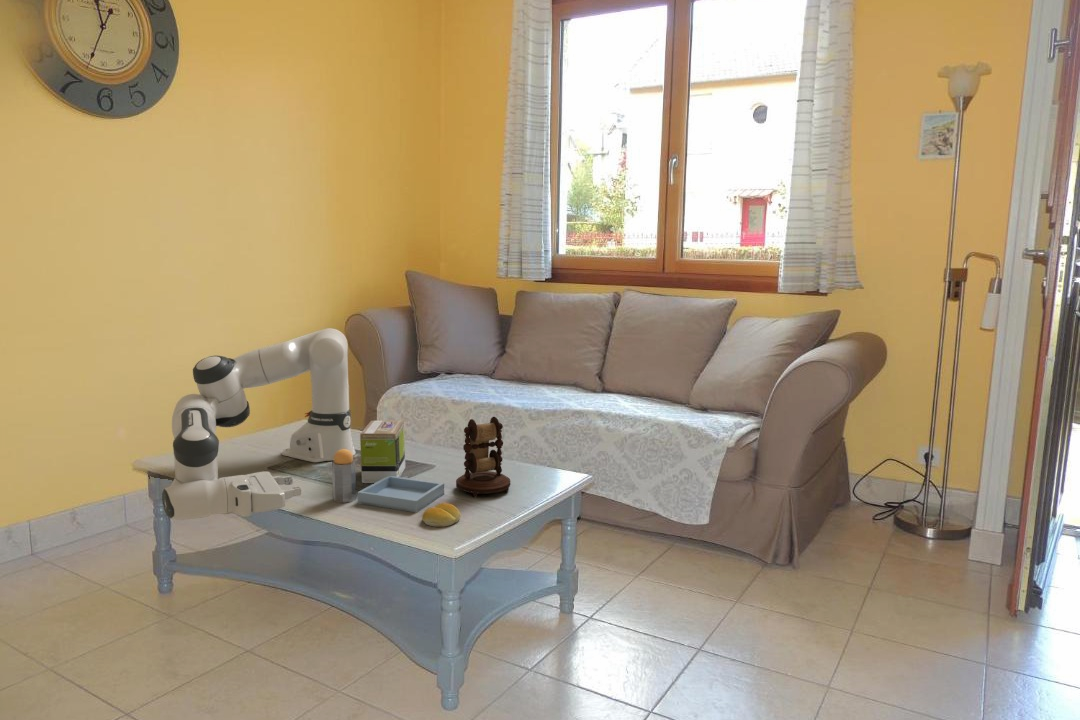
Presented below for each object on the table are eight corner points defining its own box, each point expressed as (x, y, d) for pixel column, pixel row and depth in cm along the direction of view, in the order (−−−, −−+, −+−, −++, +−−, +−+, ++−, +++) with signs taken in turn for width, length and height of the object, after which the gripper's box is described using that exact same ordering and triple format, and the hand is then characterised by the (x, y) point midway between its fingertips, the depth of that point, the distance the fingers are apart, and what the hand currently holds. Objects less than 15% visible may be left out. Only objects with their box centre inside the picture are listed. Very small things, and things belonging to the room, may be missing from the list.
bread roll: (415, 523, 184) (415, 507, 183) (441, 512, 191) (441, 497, 191) (441, 531, 179) (441, 514, 179) (466, 520, 187) (466, 504, 186)
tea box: (372, 467, 226) (371, 419, 224) (406, 468, 226) (405, 419, 224) (360, 484, 212) (359, 432, 209) (397, 484, 212) (396, 432, 209)
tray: (357, 503, 196) (357, 492, 196) (388, 486, 210) (388, 475, 210) (416, 512, 190) (416, 501, 190) (444, 494, 204) (444, 483, 204)
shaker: (337, 503, 196) (336, 466, 194) (331, 497, 200) (330, 460, 199) (357, 500, 198) (357, 463, 197) (351, 494, 203) (350, 457, 201)
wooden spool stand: (495, 478, 219) (495, 409, 215) (520, 493, 206) (521, 421, 203) (447, 486, 211) (447, 415, 208) (470, 502, 199) (470, 427, 195)
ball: (330, 468, 196) (329, 450, 196) (341, 463, 201) (340, 446, 200) (346, 471, 195) (345, 452, 194) (356, 465, 199) (356, 448, 198)
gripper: (231, 493, 195) (287, 485, 202) (245, 519, 177) (306, 510, 184) (230, 469, 194) (286, 462, 201) (244, 493, 176) (305, 484, 183)
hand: (296, 485), depth 192 cm, fingers open, 8 cm apart
